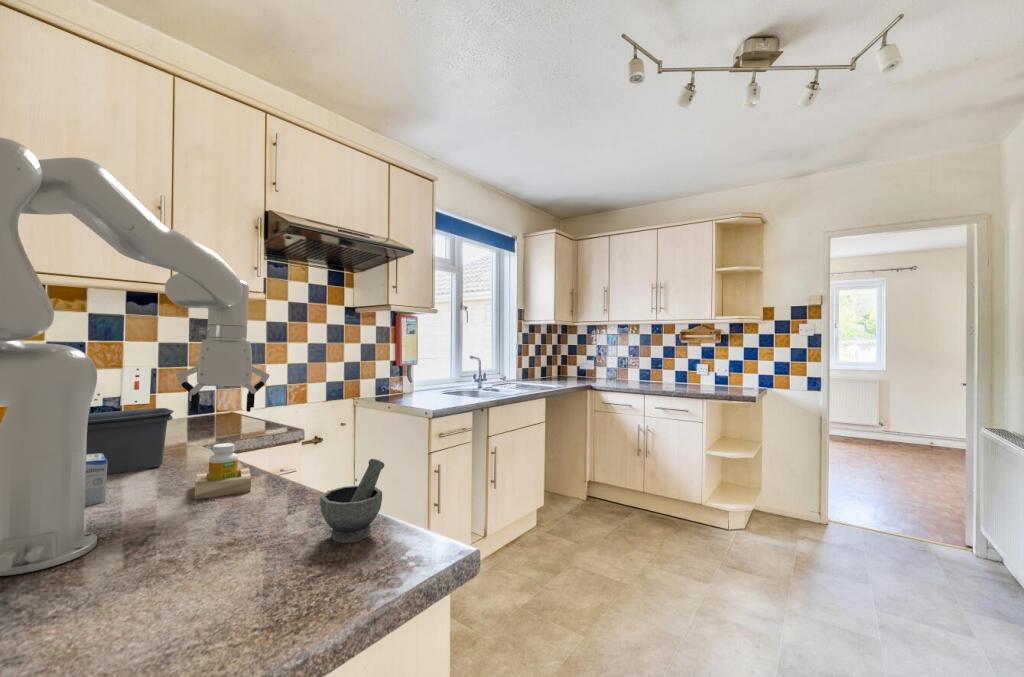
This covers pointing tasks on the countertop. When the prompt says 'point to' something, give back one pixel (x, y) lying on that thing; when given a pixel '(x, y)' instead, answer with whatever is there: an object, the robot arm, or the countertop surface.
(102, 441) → the storage bin
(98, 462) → the medicine box
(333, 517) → the mortar and pestle
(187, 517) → the countertop surface
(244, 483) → the holder block
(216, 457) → the supplement bottle
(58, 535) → the robot arm
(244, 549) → the countertop surface
